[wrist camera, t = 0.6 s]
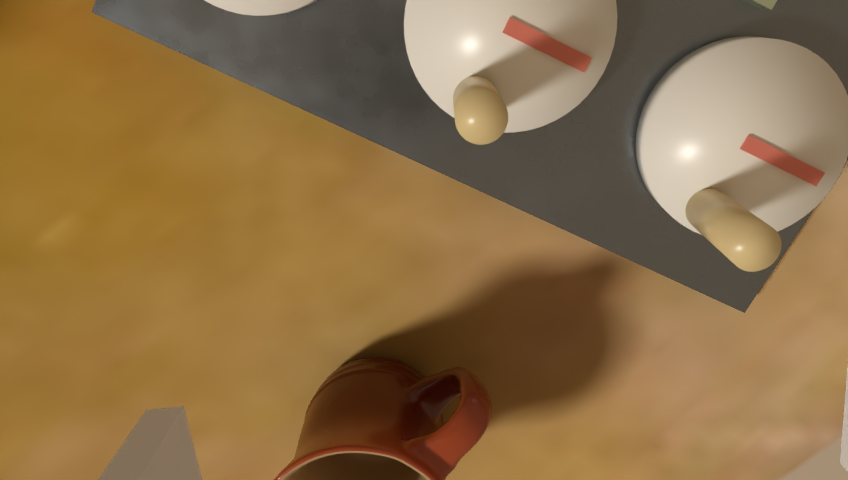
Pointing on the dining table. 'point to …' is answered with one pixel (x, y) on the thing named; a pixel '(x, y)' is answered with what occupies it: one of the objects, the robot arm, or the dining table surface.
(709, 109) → the knob
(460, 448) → the mug
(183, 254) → the dining table surface
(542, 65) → the knob middle
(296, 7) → the knob
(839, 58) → the base plate
